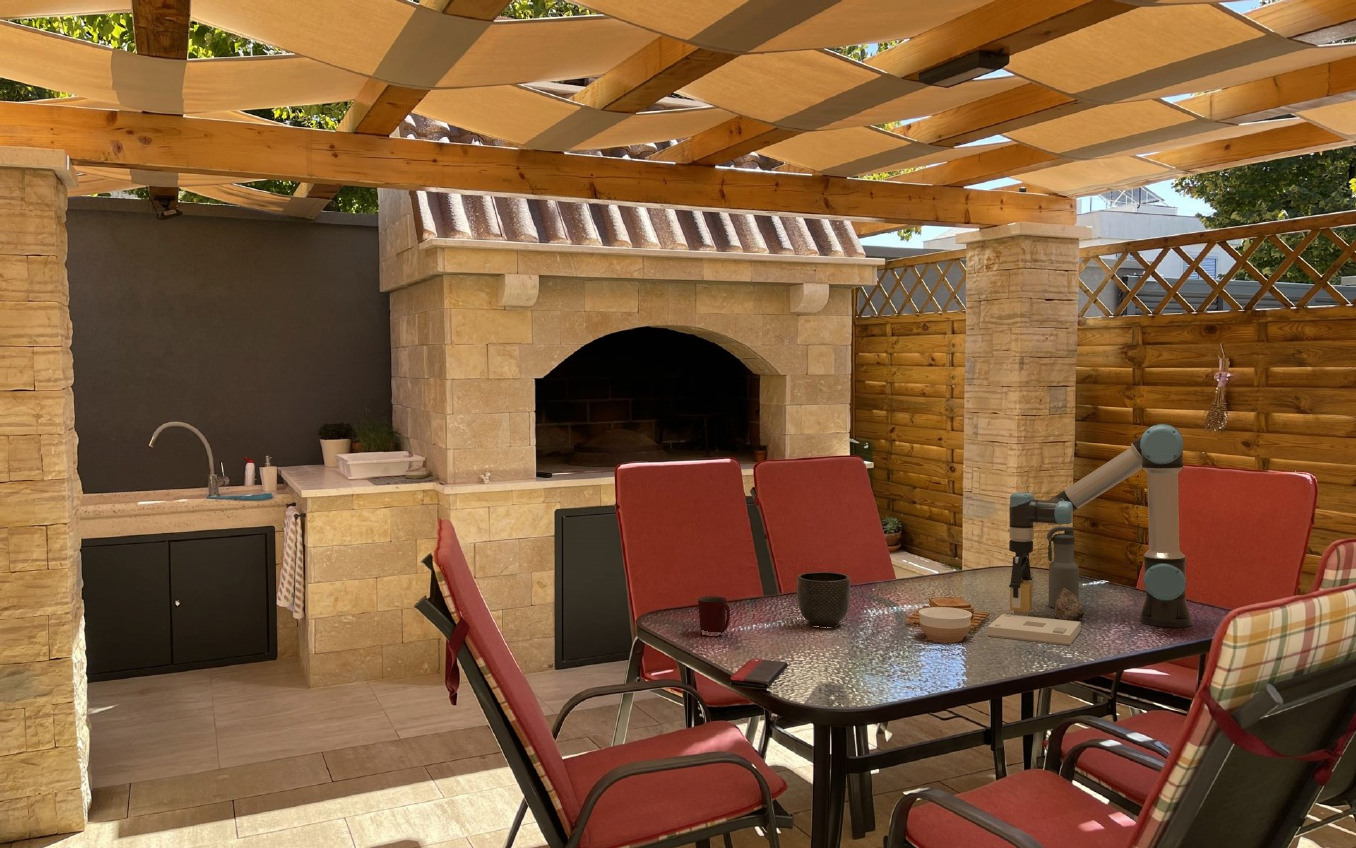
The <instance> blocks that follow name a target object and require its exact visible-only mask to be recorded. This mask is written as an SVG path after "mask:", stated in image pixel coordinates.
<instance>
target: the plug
mask: <svg viewBox="0 0 1356 848" xmlns="http://www.w3.org/2000/svg"><path fill="white" fill-rule="evenodd" d="M1010 584H1011V582H1010V583H1009V585H1010ZM1020 588H1021V608H1014V607H1012V588H1011V587H1009V611H1013V615H1018V616H1028V617H1029V612H1031V611H1032V610H1033V581H1030V582H1024V579H1021V584H1020Z"/></svg>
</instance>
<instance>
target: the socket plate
mask: <svg viewBox="0 0 1356 848" xmlns="http://www.w3.org/2000/svg"><path fill="white" fill-rule="evenodd" d="M1081 624H1082V621H1077V620H1069V621H1067V620H1060V619H1059V618H1057V619H1055V618H1047V617H1046V618H1045V617H1038V616H1037V617H1035V616H1029V615H1028V616H1018V615H1014V614H1009V613H1008V614H1007V613H1002V614H1001V615H1000V616H998V617H997V618H996V619H995V620H994V621H992V622H991V623H990V624H989V625H987V637H991V638H999V639H1000V638H1001V639H1006V640H1007V639H1009V640H1017V641H1019V640H1020V641H1027V642H1035V643H1046V644H1053V645H1062V646H1071V645H1072V644H1073V642H1074V641H1075V640H1076V639H1077V637H1078V636H1079V634H1080V633H1081V632H1082V630H1081V629H1082V625H1081Z"/></svg>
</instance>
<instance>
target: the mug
mask: <svg viewBox="0 0 1356 848" xmlns="http://www.w3.org/2000/svg"><path fill="white" fill-rule="evenodd" d="M697 601H698V602H697V604H698V617H699V618H698V619H699V628H700V629H701V630H704V631H708V632H721V633H722V632H724V633H725V632H726V630H727V629H728V627H729V624H730V620H731V619H730V617H731V611H730V606H729V605H728V604H727V598H726V597H723V596H715V595H714V596H712V595H711V596H709V595H708V596H702V597H699V598H698V599H697ZM700 629H699V630H700ZM701 630H700V631H701Z"/></svg>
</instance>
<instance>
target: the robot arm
mask: <svg viewBox="0 0 1356 848" xmlns="http://www.w3.org/2000/svg"><path fill="white" fill-rule="evenodd" d="M1183 469H1184V439H1183V435H1182V433H1181V432H1180V430H1179V429H1178V428H1177V427H1175V426H1173V424H1172V425H1171V424H1169V423H1158V424H1154V425H1152V426H1151V427H1148V428H1147V429H1146V430H1145V431H1144V433H1142V435H1140V437H1138V438H1137V439H1136V440H1134V441H1132V442H1131V443H1130V447H1129V448H1128V449H1126V450H1124V451H1123V452H1121V453H1120V454H1118V455H1116V456H1115V457H1113V458H1112V459H1110V460H1109V461H1108V462H1106V463H1104V464H1103V465H1101V466H1099V467H1098V468H1097V469H1095V470H1093V471H1092V472H1090V473H1089V474H1086V475H1085V476H1084V477H1082V478H1081V479H1079V480H1077V481H1076V482H1075V483H1073V484H1071V485H1070V486H1069V487H1067V488H1066V489H1064V490H1062V491H1061V492H1059V493H1057V494H1056V495H1054V496H1052V497H1051V498H1049V499H1048V500H1045V499H1044V500H1040V499H1035V497H1034V494H1033V493H1031V492H1014V493H1011V494H1010V496H1009V506H1008V508H1009V512H1008V513H1009V515H1008V516H1009V528H1008V529H1007V532H1008V533H1009V540H1008V541H1009V542H1008V545H1009V546H1008V551H1010V552H1011V553H1015V556H1013V557H1012V567H1011V568H1012V569H1011V574H1010V575H1011V576H1010V577H1011V578H1010V583H1011V584H1010V583H1009V585H1008V587H1009V588H1010V587H1011V588H1012V607H1014V608H1021V588H1020V584H1021V579H1024V582H1031V581H1033V577H1032V573H1031V564H1030V553H1031V554H1032V553H1033V552H1034V541H1033V540H1034V523H1035V524H1053V525H1061V526H1062V525H1070V524H1071V523H1072V522H1073V516H1074V512H1075V511H1077V510H1078V509H1080V508H1082V507H1084V506H1085V505H1086V504H1088V503H1090V502H1091V501H1093V500H1095V499H1096V498H1097V497H1099V496H1101V495H1102V494H1104V493H1105V492H1107V491H1110V489H1112V488H1114V487H1115V486H1116V485H1119V483H1121V482H1123V481H1124V480H1126V479H1128V478H1129V477H1131V476H1133V475H1135V474H1136V473H1138V472H1139V471H1141V470H1144V472H1145V473H1146V475H1147V476H1146V477H1147V510H1148V511H1147V519H1148V520H1147V521H1148V523H1147V524H1148V550H1147V551H1146V552H1144V554H1143V569H1144V570H1143V578H1142V581H1143V583H1142V584H1143V586H1144V588H1145V598H1144V601H1143V604H1142V607H1141V609H1140V613H1139V621H1140V623H1143V624H1145V625H1149V626H1152V627H1153V626H1154V627H1160V628H1161V627H1162V628H1186V627H1190V626H1192V615H1191V613H1190V609H1189V606H1188V603H1187V601H1186V594H1187V593H1186V591H1187V589H1186V587H1187V575H1186V574H1187V567H1186V566H1187V560H1186V558H1187V557H1186V555H1185V553H1182V551H1181V550H1180V517H1179V515H1180V514H1179V513H1180V509H1179V507H1180V506H1179V473H1180V472H1181V471H1182V470H1183Z"/></svg>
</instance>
